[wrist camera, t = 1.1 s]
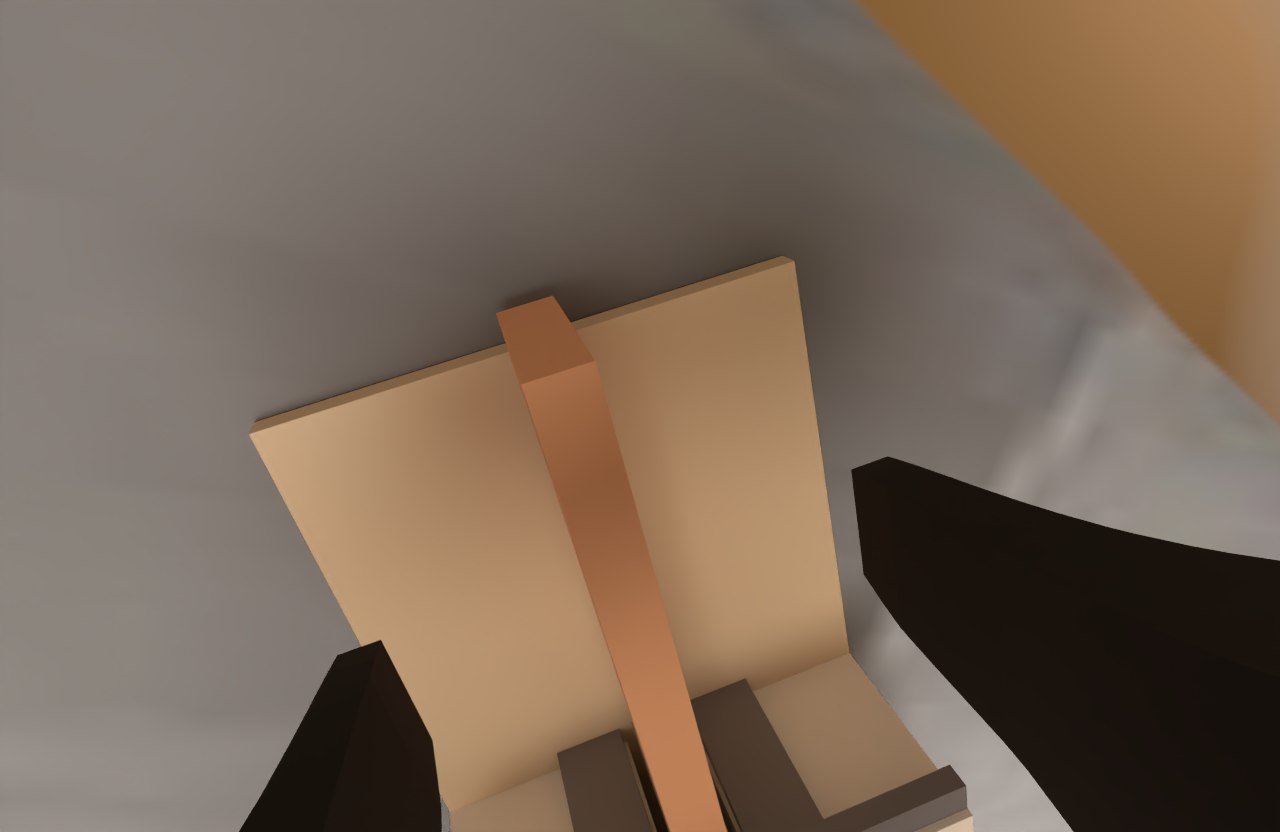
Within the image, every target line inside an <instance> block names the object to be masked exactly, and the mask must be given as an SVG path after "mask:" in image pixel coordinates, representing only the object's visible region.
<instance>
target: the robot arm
mask: <svg viewBox="0 0 1280 832" xmlns="http://www.w3.org/2000/svg"><path fill="white" fill-rule="evenodd" d="M851 471H852V479H853V488H854V496H855V505H856V513H857V521H858V530H859V538H860V547H861V555H862V564H863V572H864V576H865V577H866V579H867V580H868V582H869V583H870V584H871V586H872V587H873V589H874V590H875V592H876V593H877V595H878V596H879V598H880V599H881V601H882V602H883V604H884V605H885V607H886V608H887V609H888V611H889V612H890V614H891V615H892V616H893V618H894V619H895V621H896V622H897V623H898V625H899V626H900V628H901V629H902V630H903V631H904V632H905V633H906V634H907V636H908V637H909V638H910V639H911V640H912V641H913V642H914V644H915V645H916V646H917V647H918V648H919V649H920V650H921V651H922V652H923V654H924V655H925V656H926V657H927V658H928V659H929V660H930V661H931V662H932V664H933V665H934V666H935V667H936V668H937V669H938V670H939V671H940V672H941V674H942V675H943V676H944V677H945V678H946V679H947V680H948V681H949V682H950V683H951V684H952V686H953V687H954V688H955V689H956V690H957V691H958V692H959V693H960V694H961V695H962V697H963V698H964V699H965V700H966V701H967V702H968V703H969V704H970V705H971V706H972V708H973V709H974V710H975V711H976V712H977V713H978V714H979V715H980V716H981V717H982V719H983V720H984V721H985V722H986V723H987V724H988V725H989V726H990V727H991V728H992V729H993V731H994V732H995V733H996V734H997V735H998V736H999V737H1000V738H1001V739H1002V740H1003V742H1004V743H1005V744H1006V745H1007V746H1008V747H1009V749H1010V750H1011V751H1012V752H1013V753H1014V755H1015V756H1016V757H1017V758H1018V759H1019V761H1020V762H1021V763H1022V764H1023V765H1024V766H1025V768H1026V769H1027V770H1028V771H1029V773H1030V774H1031V775H1032V777H1033V778H1034V779H1035V781H1036V782H1037V783H1038V785H1039V786H1040V787H1041V789H1042V790H1043V791H1044V793H1045V794H1046V795H1047V797H1048V798H1049V799H1050V801H1051V802H1052V803H1053V805H1054V806H1055V807H1056V809H1057V810H1058V811H1059V813H1060V814H1061V815H1062V817H1063V818H1064V819H1065V821H1066V822H1067V823H1068V825H1069V826H1070V827H1071V829H1072V830H1073V831H1074V832H1280V561H1278V560H1271V559H1265V558H1258V557H1252V556H1245V555H1239V554H1232V553H1226V552H1221V551H1215V550H1210V549H1204V548H1199V547H1193V546H1188V545H1184V544H1179V543H1175V542H1170V541H1165V540H1161V539H1156V538H1152V537H1147V536H1142V535H1138V534H1133V533H1129V532H1125V531H1121V530H1117V529H1113V528H1109V527H1105V526H1102V525H1098V524H1095V523H1091V522H1088V521H1084V520H1080V519H1077V518H1073V517H1070V516H1066V515H1063V514H1059V513H1056V512H1053V511H1049V510H1046V509H1043V508H1040V507H1036V506H1033V505H1030V504H1027V503H1024V502H1021V501H1018V500H1015V499H1012V498H1009V497H1006V496H1003V495H1000V494H997V493H994V492H991V491H988V490H985V489H982V488H979V487H976V486H973V485H971V484H968V483H965V482H962V481H959V480H956V479H954V478H951V477H948V476H945V475H942V474H939V473H937V472H934V471H931V470H928V469H925V468H922V467H919V466H916V465H913V464H911V463H907V462H904V461H901V460H898V459H894V458H891V457H885V458H882V459H879V460H877V461H874V462H871V463H868V464H866V465H863V466H860V467H857V468H855V469H852V470H851ZM239 832H442V823H441V803H440V794H439V785H438V777H437V769H436V762H435V755H434V747H433V740H432V738H431V736H430V734H429V732H428V730H427V728H426V726H425V724H424V722H423V720H422V718H421V717H420V715H419V713H418V711H417V709H416V707H415V705H414V703H413V701H412V699H411V697H410V695H409V693H408V691H407V689H406V687H405V685H404V683H403V682H402V680H401V678H400V676H399V674H398V672H397V670H396V668H395V666H394V664H393V662H392V660H391V658H390V656H389V654H388V652H387V650H386V649H385V647H384V645H383V643H382V641H381V640H379V641H376V642H373V643H370V644H367V645H365V646H362V647H359V648H356V649H354V650H351V651H348V652H345V653H343V654H340V655H337V657H336V659H335V661H334V662H333V664H332V666H331V668H330V670H329V671H328V673H327V675H326V677H325V679H324V680H323V682H322V684H321V686H320V688H319V690H318V692H317V694H316V695H315V697H314V699H313V701H312V703H311V705H310V707H309V709H308V711H307V713H306V714H305V716H304V718H303V720H302V722H301V724H300V726H299V728H298V730H297V731H296V733H295V735H294V737H293V739H292V741H291V743H290V744H289V746H288V748H287V750H286V752H285V753H284V755H283V757H282V759H281V761H280V762H279V764H278V766H277V768H276V770H275V771H274V773H273V775H272V777H271V779H270V780H269V782H268V784H267V786H266V788H265V789H264V791H263V793H262V795H261V796H260V798H259V800H258V801H257V803H256V805H255V806H254V808H253V810H252V811H251V813H250V815H249V816H248V818H247V819H246V821H245V823H244V824H243V826H242V828H241V829H240V831H239Z"/></svg>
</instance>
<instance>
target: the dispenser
mask: <svg viewBox="0 0 1280 832" xmlns="http://www.w3.org/2000/svg"><path fill="white" fill-rule="evenodd" d="M571 324H572V326H573V327H574V329H575V330H576V332H577V333H578V335H579V336H580V338H581V339H582V341H583V343H584V344H585V346H586V347H587V349H588V350H589V352H590V353H591V355H592V356H593V358H594V360H595V362H596V365H597V369H598V372H599V376H600V380H601V383H602V387H603V390H604V394H605V397H606V401H607V405H608V408H609V412H610V415H611V419H612V423H613V426H614V430H615V433H616V437H617V440H618V444H619V448H620V451H621V455H622V458H623V462H624V465H625V469H626V473H627V476H628V480H629V483H630V487H631V490H632V494H633V498H634V501H635V505H636V508H637V512H638V516H639V519H640V523H641V526H642V530H643V533H644V537H645V541H646V544H647V548H648V551H649V555H650V558H651V562H652V566H653V569H654V573H655V576H656V580H657V583H658V587H659V591H660V594H661V598H662V601H663V605H664V609H665V612H666V616H667V619H668V623H669V626H670V630H671V634H672V637H673V641H674V644H675V648H676V651H677V655H678V659H679V662H680V666H681V669H682V673H683V677H684V680H685V684H686V687H687V691H688V694H689V698H690V702H691V705H692V709H693V712H694V716H695V719H696V723H697V727H698V730H699V734H700V737H701V741H702V744H703V748H704V752H705V755H706V759H707V762H708V766H709V770H710V773H711V777H712V780H713V784H714V787H715V791H716V795H717V798H718V802H719V805H720V809H721V812H722V816H723V820H724V823H725V826H726V828H727V830H728V832H974V830H973V815H972V814H971V812H970V811H969V810H968V809H967V794H966V785H965V784H964V782H963V781H962V780H961V779H960V777H959V776H958V775H957V773H956V772H955V771H954V770H953V768H952V767H951V766H950V765H948V766H946V767H943V768H941V769H939V770H938V769H937V768H936V766H935V765H934V764H933V762H932V761H931V760H930V758H929V757H928V756H927V755H926V753H925V752H924V751H923V749H922V748H921V747H920V745H919V744H918V743H917V741H916V740H915V739H914V737H913V736H912V735H911V733H910V732H909V731H908V730H907V728H906V727H905V726H904V724H903V723H902V722H901V720H900V719H899V718H898V716H897V715H896V714H895V712H894V711H893V710H892V708H891V707H890V706H889V704H888V703H887V702H886V701H885V699H884V698H883V697H882V695H881V694H880V693H879V691H878V690H877V689H876V687H875V686H874V685H873V683H872V682H871V681H870V679H869V678H868V677H867V676H866V674H865V673H864V672H863V670H862V669H861V668H860V666H859V665H858V664H857V662H856V661H855V660H854V658H853V657H852V656H851V654H850V653H849V647H848V640H847V633H846V626H845V618H844V611H843V604H842V597H841V590H840V583H839V576H838V568H837V561H836V554H835V547H834V540H833V533H832V526H831V519H830V511H829V504H828V497H827V490H826V483H825V476H824V469H823V462H822V454H821V447H820V440H819V433H818V426H817V419H816V412H815V404H814V397H813V390H812V383H811V376H810V369H809V362H808V355H807V347H806V340H805V333H804V326H803V319H802V312H801V305H800V297H799V290H798V283H797V276H796V269H795V262H794V261H793V260H791V259H789V258H787V257H785V256H780V257H777V258H773V259H770V260H767V261H764V262H761V263H757V264H754V265H751V266H748V267H745V268H742V269H738V270H735V271H732V272H729V273H726V274H723V275H719V276H716V277H713V278H710V279H707V280H704V281H700V282H697V283H694V284H691V285H688V286H685V287H681V288H678V289H675V290H672V291H669V292H666V293H662V294H659V295H656V296H653V297H650V298H647V299H643V300H640V301H637V302H634V303H631V304H628V305H624V306H621V307H618V308H615V309H612V310H609V311H605V312H602V313H599V314H596V315H593V316H589V317H586V318H583V319H580V320H577V321H574V322H571ZM249 435H250V437H251V439H252V441H253V443H254V445H255V447H256V449H257V450H258V452H259V454H260V456H261V458H262V460H263V462H264V464H265V465H266V467H267V469H268V471H269V473H270V475H271V477H272V479H273V481H274V482H275V484H276V486H277V488H278V490H279V492H280V494H281V496H282V497H283V499H284V501H285V503H286V505H287V507H288V509H289V511H290V512H291V514H292V516H293V518H294V520H295V522H296V524H297V526H298V528H299V529H300V531H301V533H302V535H303V537H304V539H305V541H306V543H307V544H308V546H309V548H310V550H311V552H312V554H313V556H314V558H315V560H316V561H317V563H318V565H319V567H320V569H321V571H322V573H323V575H324V576H325V578H326V580H327V582H328V584H329V586H330V588H331V590H332V592H333V593H334V595H335V597H336V599H337V601H338V603H339V605H340V607H341V608H342V610H343V612H344V614H345V616H346V618H347V620H348V622H349V624H350V625H351V627H352V629H353V631H354V633H355V635H356V637H357V639H358V640H359V642H360V644H361V646H365V645H367V644H370V643H373V642H376V641H379V640H381V641H382V643H383V645H384V647H385V649H386V650H387V652H388V654H389V656H390V658H391V660H392V662H393V664H394V666H395V668H396V670H397V672H398V674H399V676H400V678H401V680H402V682H403V683H404V685H405V687H406V689H407V691H408V693H409V695H410V697H411V699H412V701H413V703H414V705H415V707H416V709H417V711H418V713H419V715H420V717H421V718H422V720H423V722H424V724H425V726H426V728H427V730H428V732H429V734H430V736H431V738H432V740H433V747H434V755H435V762H436V769H437V777H438V785H439V793H440V795H441V797H442V799H443V800H444V802H445V804H446V806H447V808H448V810H449V812H450V821H451V832H669V831H668V828H667V826H666V823H665V820H664V817H663V814H662V811H661V808H660V805H659V802H658V799H657V796H656V793H655V790H654V788H653V785H652V782H651V779H650V776H649V773H648V770H647V767H646V764H645V761H644V758H643V755H642V753H641V750H640V747H639V744H638V741H637V738H636V735H635V732H634V729H633V726H632V723H631V722H632V720H631V717H630V714H629V711H628V708H627V705H626V702H625V699H624V696H623V693H622V690H621V687H620V684H619V681H618V678H617V675H616V672H615V669H614V666H613V663H612V660H611V657H610V654H609V651H608V648H607V645H606V642H605V639H604V636H603V633H602V630H601V627H600V624H599V621H598V618H597V615H596V612H595V609H594V606H593V603H592V600H591V597H590V594H589V591H588V588H587V585H586V582H585V579H584V576H583V573H582V570H581V567H580V564H579V561H578V558H577V555H576V552H575V549H574V546H573V543H572V540H571V537H570V534H569V531H568V528H567V525H566V522H565V519H564V516H563V513H562V510H561V507H560V504H559V501H558V498H557V495H556V492H555V489H554V486H553V483H552V480H551V477H550V474H549V471H548V468H547V465H546V462H545V459H544V456H543V453H542V450H541V447H540V444H539V441H538V438H537V435H536V433H535V430H534V427H533V424H532V421H531V418H530V415H529V412H528V409H527V406H526V403H525V400H524V397H523V394H522V391H521V388H520V385H519V382H518V379H517V376H516V373H515V370H514V367H513V364H512V361H511V358H510V355H509V352H508V349H507V346H506V343H504V344H501V345H498V346H494V347H491V348H488V349H485V350H482V351H479V352H475V353H472V354H469V355H466V356H463V357H460V358H456V359H453V360H450V361H447V362H444V363H440V364H437V365H434V366H431V367H428V368H425V369H421V370H418V371H415V372H412V373H409V374H406V375H402V376H399V377H396V378H393V379H390V380H387V381H383V382H380V383H377V384H374V385H371V386H368V387H364V388H361V389H358V390H355V391H352V392H349V393H345V394H342V395H339V396H336V397H333V398H330V399H326V400H323V401H320V402H317V403H314V404H311V405H307V406H304V407H301V408H298V409H295V410H292V411H288V412H285V413H282V414H279V415H276V416H272V417H269V418H266V419H263V420H260V421H257V422H254V424H253V426H252V428H251V431H250V433H249Z"/></svg>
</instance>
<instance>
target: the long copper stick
mask: <svg viewBox="0 0 1280 832" xmlns="http://www.w3.org/2000/svg"><path fill="white" fill-rule="evenodd" d="M496 316H497V319H498V322H499V325H500V328H501V331H502V334H503V337H504V340H505V343H506V346H507V349H508V352H509V355H510V358H511V361H512V364H513V367H514V370H515V373H516V376H517V379H518V382H519V385H520V388H521V391H522V394H523V397H524V400H525V403H526V406H527V409H528V412H529V415H530V418H531V421H532V424H533V427H534V430H535V433H536V435H537V438H538V441H539V444H540V447H541V450H542V453H543V456H544V459H545V462H546V465H547V468H548V471H549V474H550V477H551V480H552V483H553V486H554V489H555V492H556V495H557V498H558V501H559V504H560V507H561V510H562V513H563V516H564V519H565V522H566V525H567V528H568V531H569V534H570V537H571V540H572V543H573V546H574V549H575V552H576V555H577V558H578V561H579V564H580V567H581V570H582V573H583V576H584V579H585V582H586V585H587V588H588V591H589V594H590V597H591V600H592V603H593V606H594V609H595V612H596V615H597V618H598V621H599V624H600V627H601V630H602V633H603V636H604V639H605V642H606V645H607V648H608V651H609V654H610V657H611V660H612V663H613V666H614V669H615V672H616V675H617V678H618V681H619V684H620V687H621V690H622V693H623V696H624V699H625V702H626V705H627V708H628V711H629V714H630V717H631V720H632V722H631V723H632V726H633V729H634V732H635V735H636V738H637V741H638V744H639V747H640V750H641V753H642V755H643V758H644V761H645V764H646V767H647V770H648V773H649V776H650V779H651V782H652V785H653V788H654V790H655V793H656V796H657V799H658V802H659V805H660V808H661V811H662V814H663V817H664V820H665V823H666V826H667V828H668V831H669V832H728V830H727V828H726V826H725V823H724V820H723V816H722V812H721V809H720V805H719V802H718V798H717V795H716V791H715V787H714V784H713V780H712V777H711V773H710V770H709V766H708V762H707V759H706V755H705V752H704V748H703V744H702V741H701V737H700V734H699V730H698V727H697V723H696V719H695V716H694V712H693V709H692V705H691V702H690V698H689V694H688V691H687V687H686V684H685V680H684V677H683V673H682V669H681V666H680V662H679V659H678V655H677V651H676V648H675V644H674V641H673V637H672V634H671V630H670V626H669V623H668V619H667V616H666V612H665V609H664V605H663V601H662V598H661V594H660V591H659V587H658V583H657V580H656V576H655V573H654V569H653V566H652V562H651V558H650V555H649V551H648V548H647V544H646V541H645V537H644V533H643V530H642V526H641V523H640V519H639V516H638V512H637V508H636V505H635V501H634V498H633V494H632V490H631V487H630V483H629V480H628V476H627V473H626V469H625V465H624V462H623V458H622V455H621V451H620V448H619V444H618V440H617V437H616V433H615V430H614V426H613V423H612V419H611V415H610V412H609V408H608V405H607V401H606V397H605V394H604V390H603V387H602V383H601V380H600V376H599V372H598V369H597V365H596V362H595V360H594V358H593V356H592V355H591V353H590V352H589V350H588V349H587V347H586V346H585V344H584V343H583V341H582V339H581V338H580V336H579V335H578V333H577V332H576V330H575V329H574V327H573V326H572V324H571V322H570V321H569V319H568V318H567V316H566V315H565V313H564V312H563V310H562V309H561V307H560V306H559V304H558V302H557V301H556V299H555V298H554V296H549V297H546V298H543V299H540V300H536V301H533V302H530V303H527V304H524V305H520V306H517V307H514V308H511V309H507V310H504V311H501V312H498V313H496Z"/></svg>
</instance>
